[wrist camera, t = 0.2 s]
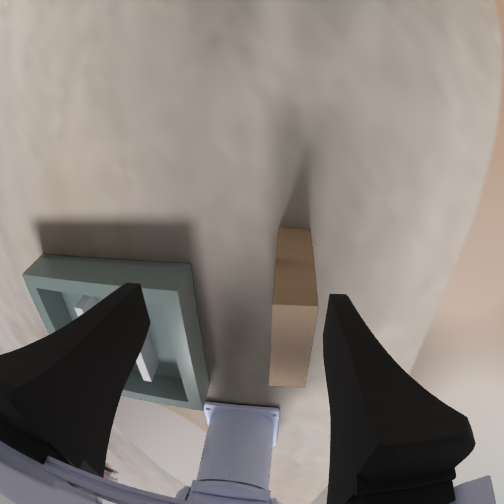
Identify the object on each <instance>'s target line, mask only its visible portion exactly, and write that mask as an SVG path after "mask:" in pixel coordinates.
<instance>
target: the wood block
mask: <svg viewBox="0 0 504 504" xmlns="http://www.w3.org/2000/svg"><path fill="white" fill-rule="evenodd" d="M317 312H318V296H317V286H316V275H315V266H314V256H313V247H312V239H311V230H310V229H301V228H278V242H277V254H276V267H275V279H274V290H273V302H272V325H271V349H270V372H269V386H286V387H305V383H306V377H307V372H308V367H309V361H310V355H311V350H312V344H313V338H314V332H315V325H316V319H317Z"/></svg>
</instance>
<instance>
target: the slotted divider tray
mask: <svg viewBox="0 0 504 504" xmlns="http://www.w3.org/2000/svg"><path fill="white" fill-rule="evenodd" d="M22 275H23V278H24V280H25V283H26V285H27V288H28V290H29V292H30V295H31V297H32V299H33V301H34V304H35V306H36V308H37V310H38V312H39V314H40V317H41V319H42V321H43V323H44V325H45V327H46V329H47V331H48V333H49V335H50V334H52V333H53V332H55V331H57V330H59V329H60V328H62V327H64V326H65V325H67V324H68V323H70V322H71V321H73V320H74V319H76V318H77V317H79V316H80V315H82V314H83V313H85V312H86V311H88V310H89V309H90V308H92V307H93V306H94V305H96V304H97V303H99V302H100V301H101V300H103V299H104V298H105V297H107V296H108V295H109V294H111V293H112V292H114V291H115V290H116V289H118V288H119V287H121V286H122V285H124V284H125V283H127V282H128V283H140V284H141V288H142V292H143V296H144V300H145V304H146V307H147V311H148V315H149V318H150V322H151V323H150V327H149V330H148V333H147V336H146V339H145V342H144V345H143V347H142V350H141V352H140V354H139V356H138V358H137V360H136V362H135V365H134V367H133V369H132V371H131V373H130V375H129V377H128V380H127V382H126V384H125V386H124V389H123V391H122V394H121V396H126V397H130V398H135V399H139V400H144V401H149V402H154V403H159V404H165V405H170V406H176V407H182V408H188V409H195V410H202V411H203V409H204V405H205V401H206V397H207V393H208V389H209V385H210V383H209V378H208V373H207V367H206V361H205V356H204V350H203V344H202V338H201V332H200V325H199V319H198V312H197V306H196V299H195V292H194V285H193V278H192V270H191V264H189V263H171V262H154V261H138V260H122V259H106V258H91V257H77V256H62V255H49V254H42V255H41V256H40V257H39V258H38V259H37V260H36V261H35V262H34V263H33V264H32V265H31V266H30V267H29V268H28V269H27V270H26V271H25V272H24V273H23V274H22Z"/></svg>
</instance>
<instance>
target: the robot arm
mask: <svg viewBox="0 0 504 504" xmlns="http://www.w3.org/2000/svg"><path fill="white" fill-rule="evenodd" d="M150 323H151V322H150V318H149V315H148V311H147V307H146V304H145V300H144V296H143V292H142V288H141V284H140V283H128V282H127V283H125V284H124V285H122V286H121V287H119V288H118V289H116V290H115V291H114V292H112V293H111V294H109V295H108V296H107V297H105V298H104V299H103V300H101V301H100V302H99V303H97V304H96V305H94V306H93V307H92V308H90V309H89V310H88V311H86V312H85V313H83V314H82V315H80V316H79V317H77V318H76V319H74V320H73V321H71V322H70V323H68V324H67V325H65V326H64V327H62V328H60V329H59V330H57V331H55V332H53V333H52V334H50V335H48V336H46V337H44V338H42V339H40V340H38V341H36V342H33V343H31V344H29V345H27V346H25V347H22V348H20V349H17V350H14V351H11V352H9V353H5V354H2V355H0V493H1V494H3V495H4V496H5V497H7V498H8V499H10V500H11V501H13V502H14V503H16V504H102V503H101V502H99V501H98V500H97V499H96V498H95V497H93V496H91V495H89V494H92V495H94V496H97V497H99V498H103V499H105V500H108V501H111V502H114V503H117V504H280V503H279V502H278V501H277V499H276V498H270V492H271V491H270V490H268V489H269V479H270V469H271V458H272V447H274V446H276V438H277V430H278V421H279V412H280V410H279V409H278V408H272V407H257V406H245V405H234V404H225V403H216V402H208V401H206V402H205V405H204V412H205V416H206V420H207V424H208V431H207V435H206V440H205V445H204V449H203V453H202V458H201V462H200V467H199V472H198V476H197V480H193V482H192V486H191V487H189V486H185V487H184V488H183V489H181V490H180V491H179V492H178V493H177V495H176V497H175V498H173V497H168V496H164V495H159V494H155V493H151V492H148V491H144V490H140V489H137V488H133V487H130V486H126V485H123V484H120V483H117V482H114V481H111V480H108V479H105V478H104V468H105V461H106V453H107V448H108V443H109V438H110V433H111V428H112V424H113V420H114V417H115V413H116V410H117V406H118V403H119V400H120V396H121V394H122V391H123V389H124V386H125V384H126V382H127V380H128V377H129V375H130V373H131V371H132V369H133V367H134V365H135V362H136V360H137V358H138V356H139V354H140V352H141V350H142V347H143V345H144V342H145V339H146V336H147V333H148V330H149V327H150ZM323 357H324V366H325V373H326V381H327V388H328V396H329V404H330V416H331V441H330V468H329V484H328V495H327V504H496V501H495V496H494V491H493V486H492V482H491V477H490V476H485V477H482V478H478V479H475V480H472V481H469V482H465V483H463V484H460V485H458V486H455V487H454V488H453V482H452V480H453V479H455V478H456V473H455V467H456V466H457V465H458V464H459V463H460V462H462V461H463V460H464V459H465V458H466V457H467V456H468V455H469V454H470V453H471V452H472V450H473V449H474V447H475V440H474V437H473V432H472V429H471V426H470V424H469V421H468V418H467V417H466V416H464V415H463V414H461V413H459V412H457V411H456V410H454V409H453V408H451V407H449V406H448V405H446V404H445V403H443V402H442V401H440V400H439V399H438V398H436V397H435V396H433V395H432V394H431V393H429V392H428V391H427V390H426V389H424V388H423V387H422V386H421V385H420V384H418V383H417V382H416V381H415V380H414V379H413V378H412V377H410V376H409V375H408V374H407V373H406V372H405V371H404V370H403V369H402V368H401V367H400V366H399V365H398V364H397V363H396V362H395V361H394V359H393V358H392V357H391V356H390V355H389V354H388V353H387V351H386V350H385V349H384V348H383V346H382V345H381V344H380V343H379V341H378V340H377V339H376V338H375V336H374V335H373V333H372V332H371V331H370V329H369V328H368V327H367V325H366V324H365V322H364V321H363V319H362V318H361V316H360V315H359V313H358V312H357V310H356V309H355V307H354V305H353V304H352V302H351V300H350V299H349V297H348V296H347V295H346V294H330V295H329V302H328V308H327V314H326V320H325V326H324V332H323ZM81 490H82V491H81ZM83 491H84V492H83ZM85 492H87V493H89V494H87V493H85Z"/></svg>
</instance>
